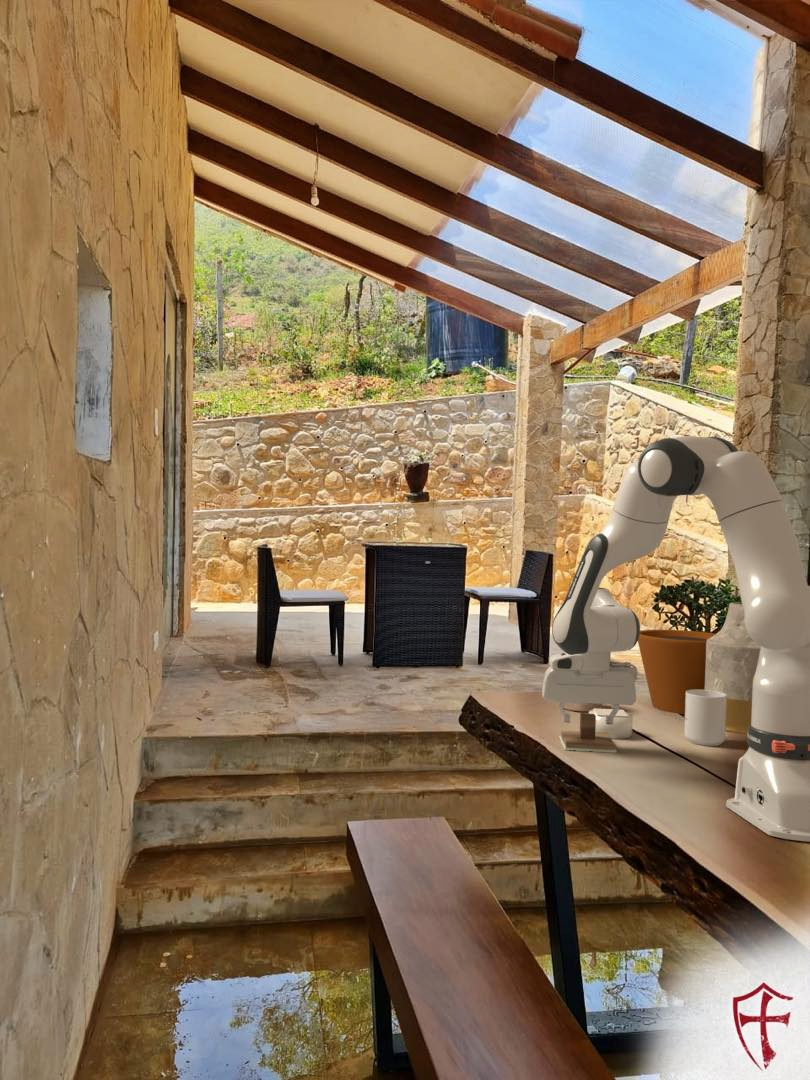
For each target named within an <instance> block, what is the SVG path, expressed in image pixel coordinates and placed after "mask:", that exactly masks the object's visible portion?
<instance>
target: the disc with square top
mask: <svg viewBox="0 0 810 1080" xmlns="http://www.w3.org/2000/svg"><path fill="white" fill-rule="evenodd" d="M612 710H613V708H602V709H596V708H593V710H591V711H589V713H590V714H595V716H596V730H595V732H599V733H608V735H609V736H610V738H611V739H612V740H616V739H617V740H623V739H628V738H629V739H630V738H631V737H632V736H633V714H632V713H630V712H626V711H625V710H624V709H619V711H618V712H617V714H616V715H615V717H614V722H613V725H609V724H606V722H605V721H606V715H610V713H611V711H612Z"/></svg>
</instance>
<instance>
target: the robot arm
mask: <svg viewBox="0 0 810 1080" xmlns="http://www.w3.org/2000/svg"><path fill="white" fill-rule="evenodd" d="M616 493H617V494H616V495H615V499H614V504H613V507H612V512H611V514H610V516H609V518H608V520H607V522H606V523H605V525H604V527H603V528H602V529H601V530H600V532H599V533H598V534H595V535H594V536H593V537H591V539H590V540H589V542H588V544H587V545H586V547H585V549H584V552H583V554H582V557H581V559H580V560H579V563H578V566H577V568H576V570H575V573H574V576H573V579H572V581H571V583H570V586H569V589H568V591H567V592H566V593H567V594H566V596H565V598H564V600H563V603H562V604H561V605H560V607H559V608H558V611H557V612H556V614H555V617H554V619H553V621H552V625H551V634H552V639H553V641H554V643H555V644H556V645H557V646H558V647H559V648H560V649H561V650H562V651H563V652H560V653H555V654H553V655H550V656H549V658H548V664H549V667H548V668H547V669H546V670H545V672H544V676H543V682H542V690H541V696H542V698H543V699H544V700H545V701H546V702H548V703H549V702H551V703H554V702H555V703H557V706H558V708H559V710H560V712H561V713H562V719H561V720H562V723H571V714H570V712H569V713H567V712H565V709H564V708H563V707H565V702H571V703H593V704H603V705H610V707H611V709H613V710H612V711H611V713H610V715H606V721H605V722H606V724H609V725H613V722H614V717H615V715H616V714H617V712H618V711H619V710H620V706H633V705H634V704H635V703H636V701H637V691H636V690H637V689H636V681H637V679H638V668H637V667H636V666H635V665H634V664H632V663H631V662H628V661H625V662H624V661H623V662H621V661H611V655H612V652H613V653H617V652H626V651H631V650H632V649H633V648H634V647H635V646H636V645H637V644H638V639H639V636H640V631H641V623H640V620H639V617H638V616H637V614H636V612H634V611H633V610H632V609H631V608H630V607H626V606H624V605H622V604H620V603H619V602H618V601H617V600H615V599H614V598H613V595H612V592H611V591H610V589H608V588H605V587H601V583H602V581H603V579H604V577H605V576H606V575H607V574H609V572H611V571H612V570H613V569H615V568H617V567H619V566H622V565H624V564H626V563H630V562H633V561H636V560H638V559H641V558H643V557H646V556H648V555H650V554H651V553H653V552H654V551H655V550H656V549H658V548H659V547H660V545H661V543H662V542H663V540H664V538H665V536H666V533H667V529H668V525H669V521H670V517H671V512H672V509H673V505H674V502H675V500H676V499H677V498H678V496H679V497H680V496H699V495H704V496H705V497H707V498H708V499H709V501H710V502H711V504H712V506H713V509H714V512H715V514H716V517H717V520H718V523H719V526H720V528H721V531H722V535H723V537H724V541H725V543H726V545H727V548H728V550H729V553H730V556H731V558H732V562H733V565H734V571H735V574H736V575H735V576H736V579H737V585H738V590H739V591H738V592H739V595H740V600H741V601H740V602H742V605H743V609H744V614H745V618H744V622H745V627H746V630H747V632H748V634H749V636H750V637H751V638H752V639H753V640H754V641H755V642H756V643H757V644H758V645H760V646H761V648H760V654H759V659H758V664H757V668H756V672H755V675H754V678H753V690H752V716H751V724H750V725H749V727H748V732H747V734H746V735H747V746H748V748H747V751H746V752H745V754H743V756H741V757H740V758H739V759H738V762H737V770H736V771H737V772H736V782H735V793H734V797H732V798H728V799H727V800H726V803H725V807H726V808H727V809H729V810H731V812H733V813H735V814H737V815H738V816H739V817H741V818H743V819H744V820H746V821H747V822H749V823H750V824H751V825H753V826H755V827H756V828H758V829H759V830H761V832H764V833H765V834H766V835H768V836H771V837H776V838H779V839H780V838H781V839H784V840H792V841H798V842H799V841H800V842H809V843H810V585H808V582H807V577H806V574H805V570H804V567H803V562H802V557H801V552H800V543H799V541H798V538H797V535H796V533H795V530H794V528H793V526H792V525H793V524H792V523H791V520H790V517H789V515H788V512H787V509H786V506H785V504H784V501H783V499H782V497H781V494H780V491H779V488H778V487H777V485H776V483H775V481H774V479H773V478H772V475H771V474H770V472H769V469H768V468H767V467H766V465H765V464H764V462H763V461H762V459H761V458H760V457H759V456H758V455H757V454H756V453H753V452H751V451H745V450H743V451H742V450H741V451H740V450H738V448H737V447H736V445H734V444H733V442H731V441H729V440H727V439H725V438H721V437H717V436H707V437H706V436H694V435H684V436H683V435H682V436H678V437H672V438H671V437H667V438H666V437H665V438H662V439H659V440H656V441H654V442H651V444H649V445H647V446H646V447H645V448H644V449H643V451H642V452H641V453H640V455H639V458H638V460H635V461H633V462H631V463H630V464H629V466H628V467H627V469H626V470H625V473H624V475H623V477H622V480H621V482H620V485H619V488H618V490H617V492H616Z"/></svg>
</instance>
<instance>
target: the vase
mask: <svg viewBox="0 0 810 1080" xmlns="http://www.w3.org/2000/svg"><path fill="white" fill-rule="evenodd" d="M744 618H745V614H744V609H743V605H742V601H740V602H739V601H738V602H729V605H728V611H727V614H726V618H725V620H724V623H723V626H722V627H721V629H720V630H719V631H718V632H717V633H715V634H716V635H714V636H713V637H711V638H709V639H707V642H706V666H705V690H710V691H717V692H721V693H724V694H726V695H727V706H726V731H727V732H728V733H732V732H733V734H739V733H740V734H741V735H747V732H748V727H749V725H750V724H751V716H752V690H753V678H754V675H755V672H756V668H757V664H758V659H759V654H760V648H761V646H760V645H758V644H757V643H756V642H755V641H754V640H753V639H752V638H751V637H750V636H749V634H748V632H747V630H746V627H745V622H744ZM740 734H739V735H740Z"/></svg>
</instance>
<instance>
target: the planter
mask: <svg viewBox="0 0 810 1080" xmlns="http://www.w3.org/2000/svg"><path fill="white" fill-rule="evenodd" d="M603 705H604V704H593V703H571V702H565V707H563V709H564V710H567V711H569V712H570V711H571V712H575V713H589V711H591V710H593V708H596V709H603Z"/></svg>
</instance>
